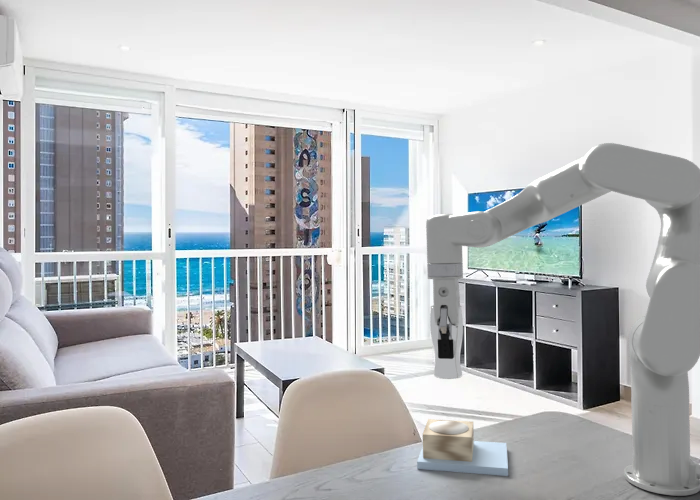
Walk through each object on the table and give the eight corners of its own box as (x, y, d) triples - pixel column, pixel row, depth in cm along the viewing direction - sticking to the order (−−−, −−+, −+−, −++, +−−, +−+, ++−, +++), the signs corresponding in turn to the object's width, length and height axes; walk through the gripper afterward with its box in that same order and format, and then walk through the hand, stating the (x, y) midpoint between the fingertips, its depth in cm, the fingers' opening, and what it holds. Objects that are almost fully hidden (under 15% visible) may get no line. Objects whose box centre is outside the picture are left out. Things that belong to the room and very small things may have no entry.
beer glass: (464, 380, 112) (462, 308, 112) (430, 379, 114) (428, 308, 114) (464, 372, 119) (462, 304, 119) (432, 371, 121) (430, 304, 120)
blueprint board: (506, 449, 120) (506, 442, 120) (508, 476, 107) (508, 468, 107) (425, 444, 125) (425, 437, 125) (417, 468, 111) (417, 461, 111)
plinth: (473, 444, 120) (473, 420, 120) (472, 461, 110) (471, 436, 110) (428, 441, 123) (428, 418, 123) (423, 458, 113) (422, 433, 113)
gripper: (460, 273, 107) (462, 364, 107) (464, 269, 124) (467, 347, 124) (422, 274, 109) (425, 363, 109) (432, 270, 126) (434, 347, 126)
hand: (447, 354), depth 116 cm, fingers closed on beer glass, 6 cm apart
